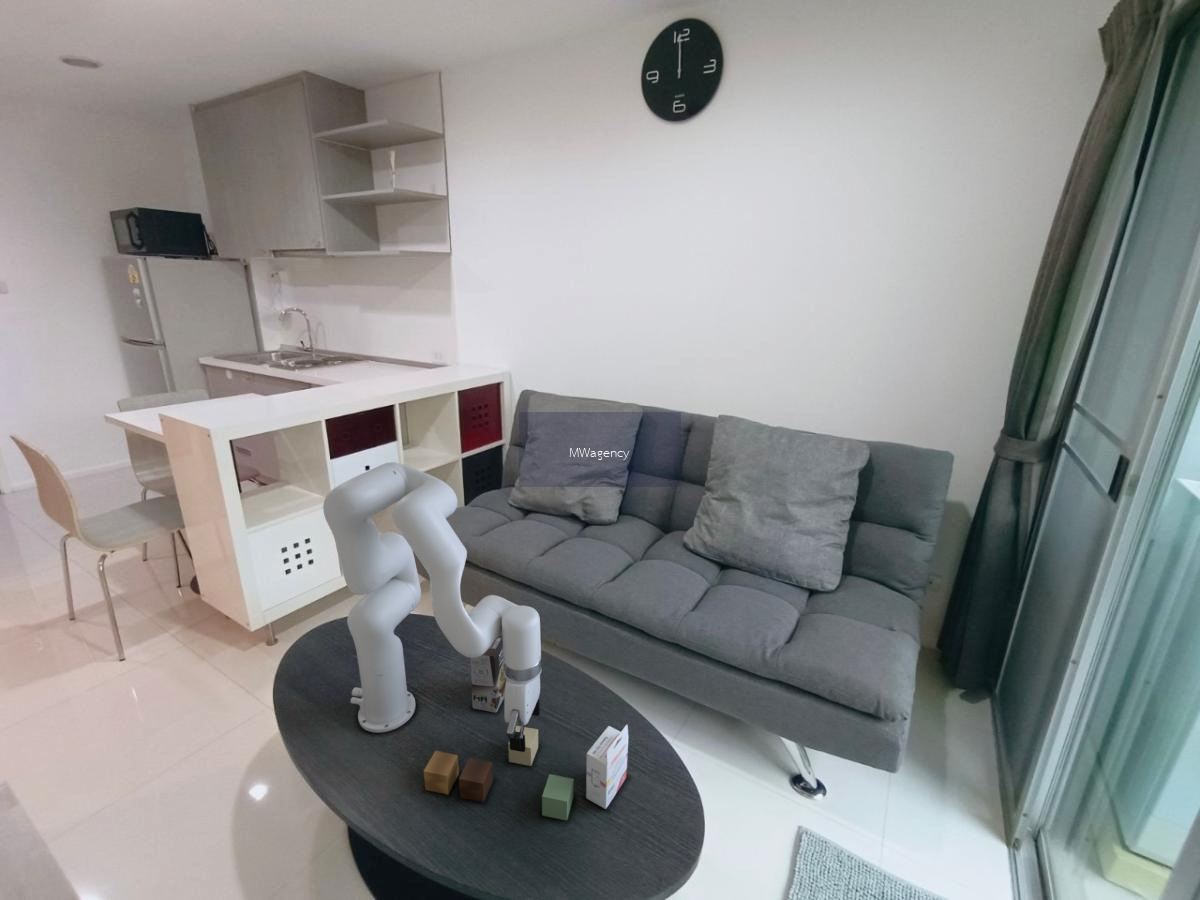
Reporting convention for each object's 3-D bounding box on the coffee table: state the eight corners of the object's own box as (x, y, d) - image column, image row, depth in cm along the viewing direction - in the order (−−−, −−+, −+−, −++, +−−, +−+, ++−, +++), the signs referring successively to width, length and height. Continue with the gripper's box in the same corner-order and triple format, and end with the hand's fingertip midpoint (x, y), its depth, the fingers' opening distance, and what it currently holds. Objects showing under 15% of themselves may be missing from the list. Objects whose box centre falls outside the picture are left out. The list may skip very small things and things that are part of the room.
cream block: (508, 761, 117) (508, 743, 116) (516, 742, 122) (516, 725, 120) (531, 766, 117) (530, 748, 115) (538, 747, 121) (538, 729, 120)
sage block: (541, 815, 106) (541, 796, 105) (549, 792, 111) (549, 773, 109) (567, 820, 105) (567, 801, 104) (573, 797, 110) (573, 778, 108)
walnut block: (460, 797, 109) (458, 778, 108) (470, 775, 114) (469, 757, 112) (483, 802, 108) (482, 783, 107) (493, 780, 113) (492, 762, 111)
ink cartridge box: (606, 767, 117) (609, 712, 112) (626, 778, 114) (630, 723, 110) (584, 798, 110) (585, 741, 105) (605, 811, 107) (608, 753, 103)
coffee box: (497, 713, 130) (495, 657, 125) (471, 708, 131) (468, 652, 126) (510, 686, 138) (509, 632, 133) (486, 681, 140) (484, 628, 134)
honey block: (425, 789, 111) (423, 771, 109) (437, 768, 115) (435, 750, 114) (448, 794, 110) (446, 776, 108) (459, 773, 114) (458, 755, 113)
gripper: (519, 636, 120) (522, 699, 126) (488, 692, 104) (493, 762, 110) (552, 640, 119) (553, 704, 124) (526, 698, 103) (529, 768, 108)
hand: (525, 731), depth 117 cm, fingers open, 9 cm apart
